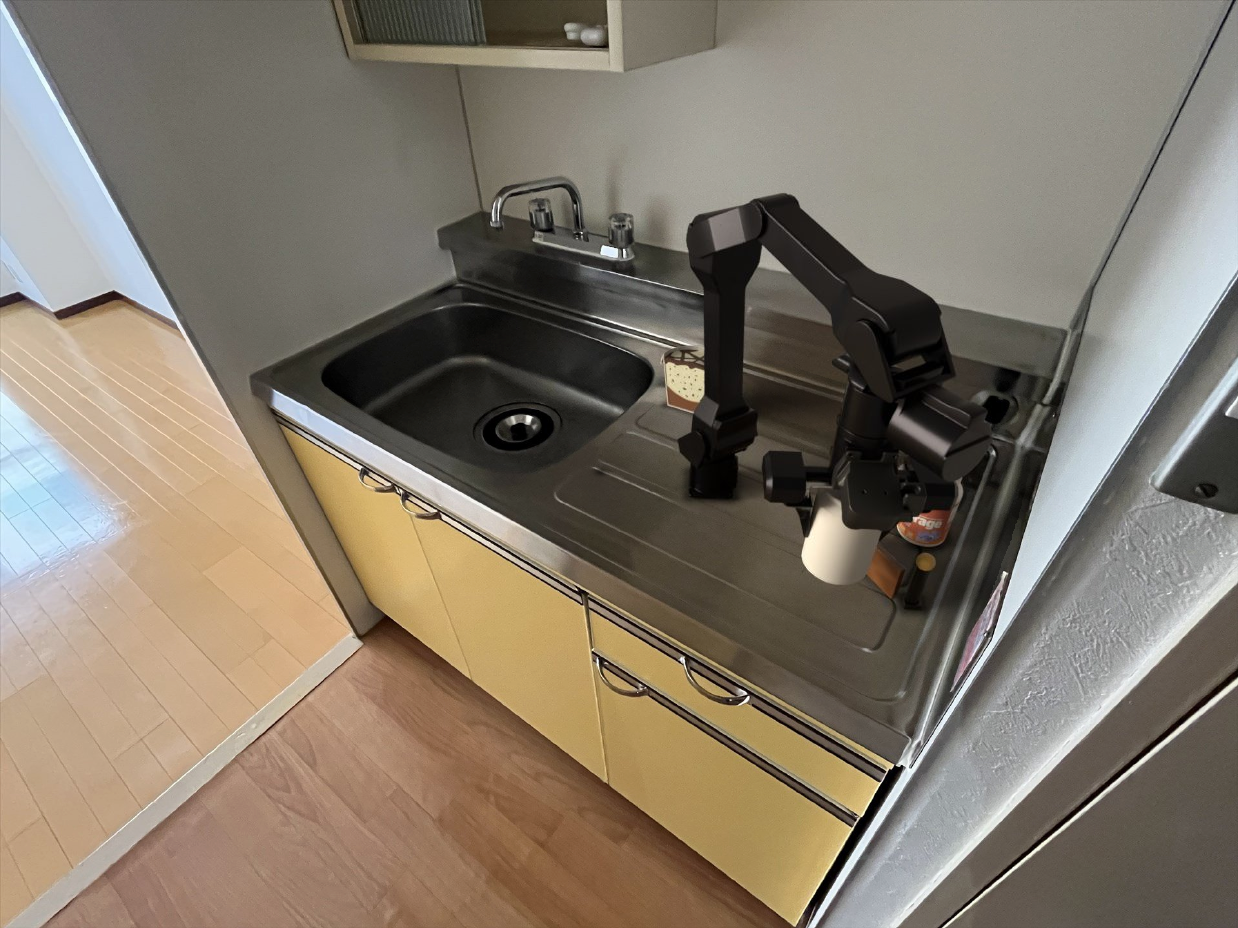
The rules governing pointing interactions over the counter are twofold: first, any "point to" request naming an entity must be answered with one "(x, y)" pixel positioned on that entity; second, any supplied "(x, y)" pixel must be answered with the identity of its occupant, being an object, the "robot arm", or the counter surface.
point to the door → (886, 572)
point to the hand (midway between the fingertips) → (840, 536)
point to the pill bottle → (930, 525)
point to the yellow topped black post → (918, 582)
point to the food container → (684, 376)
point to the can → (836, 543)
